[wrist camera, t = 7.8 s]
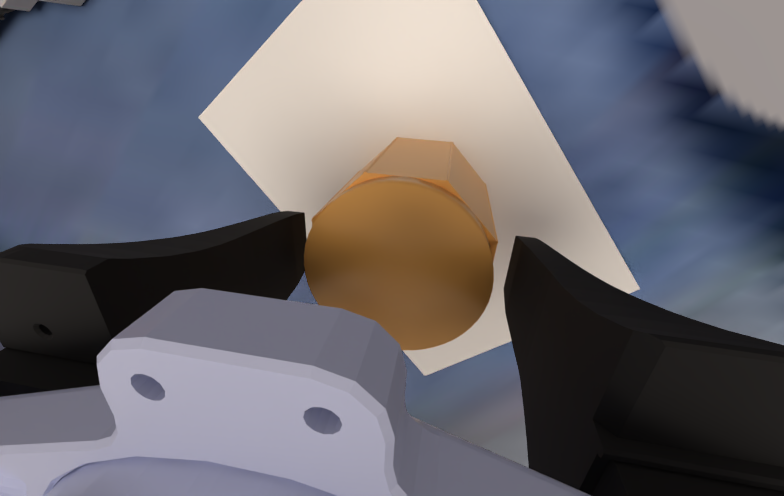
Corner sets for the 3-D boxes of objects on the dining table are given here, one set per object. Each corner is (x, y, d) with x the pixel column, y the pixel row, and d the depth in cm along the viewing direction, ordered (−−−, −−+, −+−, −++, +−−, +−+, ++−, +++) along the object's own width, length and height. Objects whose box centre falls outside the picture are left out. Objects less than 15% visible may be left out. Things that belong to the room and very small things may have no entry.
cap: (358, 249, 18) (308, 335, 12) (359, 133, 15) (296, 172, 9) (471, 264, 17) (476, 364, 11) (493, 144, 14) (515, 195, 9)
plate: (629, 275, 17) (682, 341, 13) (426, 361, 22) (418, 429, 18) (413, -104, 12) (388, -192, 8) (214, 114, 17) (135, 129, 13)
